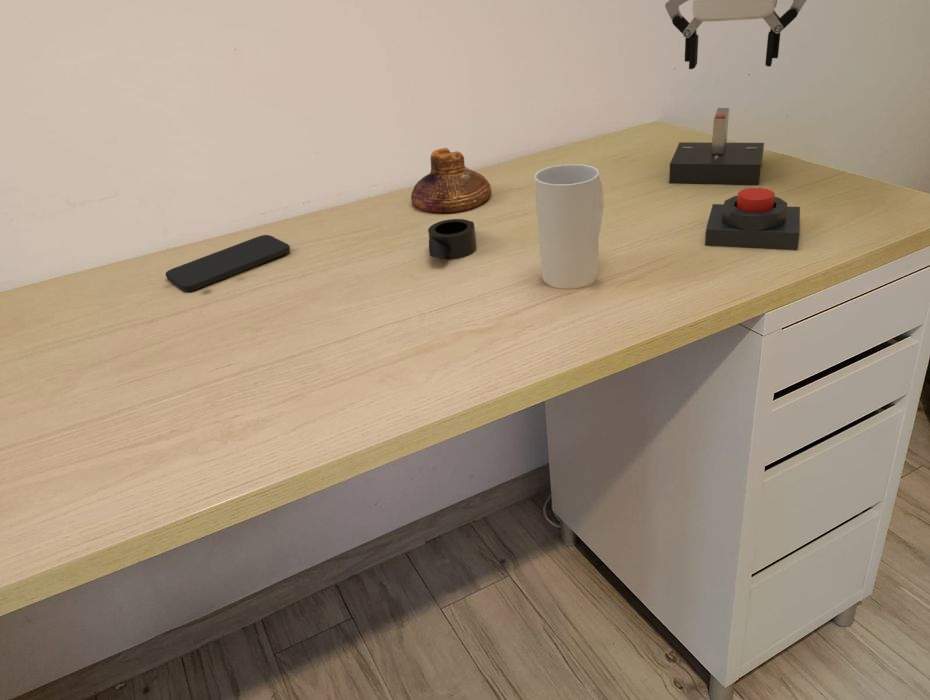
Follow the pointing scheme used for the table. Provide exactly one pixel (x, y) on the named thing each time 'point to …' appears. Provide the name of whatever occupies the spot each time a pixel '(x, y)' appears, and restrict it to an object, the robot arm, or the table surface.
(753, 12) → the robot arm
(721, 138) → the tap handle
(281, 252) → the phone
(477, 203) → the bell
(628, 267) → the table surface
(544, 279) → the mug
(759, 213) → the button box
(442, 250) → the duct tape
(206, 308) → the table surface
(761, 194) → the button
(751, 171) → the plate
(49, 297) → the table surface
